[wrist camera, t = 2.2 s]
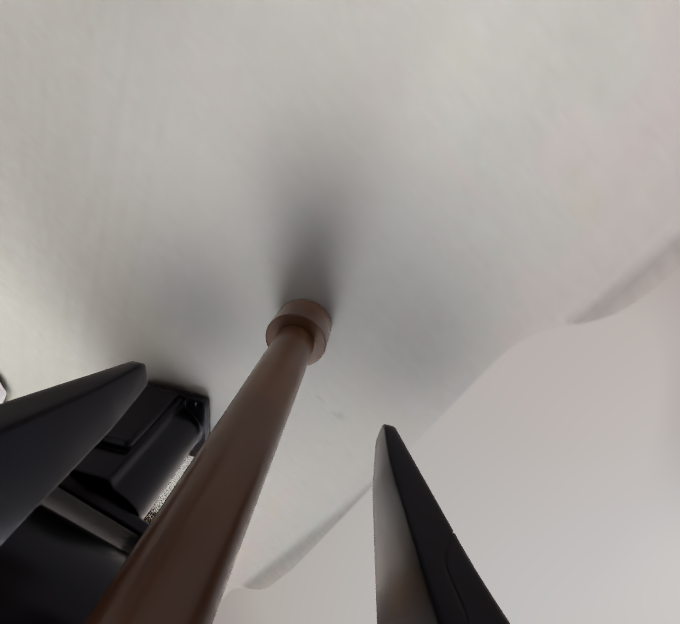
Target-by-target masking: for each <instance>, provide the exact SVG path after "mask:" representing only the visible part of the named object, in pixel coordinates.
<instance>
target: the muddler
mask: <svg viewBox="0 0 680 624" xmlns="http://www.w3.org/2000/svg"><path fill="white" fill-rule="evenodd" d="M330 331H331V321H330V318H329V316H328V314H327V312H326V311H325V310H324V309H323V308H322V307H321V306H320V305H318V304H317V303H315V302H313V301H310V300H305V299H297V300H293V301H290V302H288V303H287V304H285V305H284V306H283V307H282V308H281V310H280V311H279V312H278V314H277V315H276V316H275V317H274V319H273V320H272V321H271V323H270V324H269V326H268V327H267V330H266V342H267V345H268V348H267V350H266V351H265V353H264V354H263V356H262V357H261V359H260V360H259V362H258V363H257V365H256V366H255V368H254V369H253V371H252V372H251V374H250V375H249V377H248V378H247V380H246V381H245V383H244V384H243V386H242V387H241V389H240V390H239V392H238V393H237V394H236V396H235V397H234V399H233V400H232V402H231V403H230V405H229V406H228V408H227V409H226V411H225V412H224V414H223V415H222V417H221V418H220V420H219V421H218V423H217V424H216V426H215V427H214V429H213V430H212V432H211V433H210V435H209V436H208V438H207V439H206V441H205V442H204V444H203V445H202V447H201V448H200V450H199V451H198V453H197V454H196V456H195V457H194V459H193V460H192V462H191V463H190V465H189V466H188V468H187V469H186V471H185V472H184V474H183V475H182V477H181V478H180V480H179V481H178V483H177V484H176V486H175V487H174V489H173V490H172V492H171V493H170V495H169V496H168V498H167V499H166V501H165V502H164V504H163V505H162V507H161V508H160V509H159V511H158V512H157V514H156V515H155V517H154V518H153V520H152V521H151V523H150V524H149V526H148V527H147V529H146V530H145V532H144V533H143V535H142V536H141V538H140V539H139V541H138V542H137V544H136V545H135V547H134V548H133V550H132V551H131V553H130V554H129V556H128V557H127V559H126V560H125V562H124V563H123V565H122V566H121V568H120V569H119V571H118V572H117V574H116V575H115V577H114V578H113V580H112V581H111V583H110V584H109V586H108V587H107V589H106V590H105V592H104V593H103V595H102V596H101V598H100V599H99V601H98V602H97V604H96V605H95V607H94V608H93V610H92V611H91V613H90V614H89V616H88V617H87V619H86V620H85V622H84V623H83V624H212V622H213V620H214V617H215V614H216V612H217V609H218V606H219V604H220V601H221V598H222V595H223V593H224V590H225V587H226V584H227V582H228V579H229V576H230V574H231V571H232V568H233V565H234V563H235V560H236V557H237V555H238V552H239V549H240V546H241V544H242V541H243V538H244V536H245V533H246V530H247V527H248V525H249V522H250V519H251V517H252V514H253V511H254V508H255V506H256V503H257V500H258V498H259V495H260V492H261V489H262V487H263V484H264V481H265V479H266V476H267V473H268V470H269V468H270V465H271V462H272V460H273V457H274V454H275V451H276V449H277V446H278V443H279V441H280V438H281V435H282V432H283V430H284V427H285V424H286V422H287V419H288V416H289V413H290V411H291V408H292V405H293V403H294V400H295V397H296V394H297V392H298V389H299V386H300V384H301V381H302V378H303V375H304V373H305V370H306V367H307V366H308V365H311V364H313V363H315V362H316V361H318V360H319V359H320V358H321V357H322V355H323V354H324V352H325V348H326V345H327V342H328V338H329V335H330Z"/></svg>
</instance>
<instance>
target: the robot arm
mask: <svg viewBox="0 0 680 624" xmlns="http://www.w3.org/2000/svg"><path fill="white" fill-rule="evenodd" d="M147 382H148V378H147V371H146V366H145V365H144V364H143V363H139V362H134V361H132V362H128V363H125V364H122V365H119V366H116V367H113V368H110V369H106V370H103V371H100V372H97V373H94V374H91V375H88V376H85V377H82V378H79V379H75V380H72V381H69V382H66V383H63V384H60V385H57V386H54V387H51V388H48V389H44V390H41V391H38V392H35V393H32V394H29V395H26V396H23V397H20V398H17V399H13V400H10V401H7V402H4V403H1V404H0V624H83V623H84V622H85V620H86V619H87V617H88V616H89V614H90V613H91V611H92V610H93V608H94V607H95V605H96V604H97V602H98V601H99V599H100V598H101V596H102V595H103V593H104V592H105V590H106V589H107V587H108V586H109V584H110V583H111V581H112V580H113V578H114V577H115V575H116V574H117V572H118V571H119V569H120V568H121V566H122V565H123V563H124V562H125V560H126V559H127V557H128V556H129V554H130V553H131V551H132V550H133V548H134V547H135V545H136V544H137V542H138V541H139V539H140V538H141V536H142V535H143V533H144V532H145V530H146V529H147V527H148V526H149V524H150V523H148V522H147V521H145V520H144V518H145V517H146V515H147V514H148V512H149V511H150V510H151V508H152V507H153V505H154V504H155V502H156V501H157V499H158V498H159V497H160V495H161V494H162V492H163V491H164V489H165V488H166V487H167V485H168V484H169V482H170V481H171V479H172V478H173V477H174V475H175V474H176V472H177V471H178V469H179V468H180V467H181V465H182V464H183V462H184V461H185V459H186V458H187V457H188V455H190V456H194V457H195V456H196V454H197V453H198V451H199V450H200V448H201V447H202V445H203V444H204V442H205V441H206V439H207V438H208V436H209V401H208V400H207V399H206V398H205V397H202V396H198V395H194V394H190V393H187V392H183V391H179V390H175V389H171V388H167V387H163V386H159V385H155V384H151V383H147ZM373 516H374V543H375V544H374V545H375V574H376V604H377V624H510V623H509V621H508V620H507V618H506V617H505V615H504V614H503V612H502V610H501V609H500V607H499V606H498V604H497V603H496V601H495V600H494V598H493V597H492V595H491V594H490V592H489V590H488V589H487V587H486V586H485V584H484V583H483V581H482V579H481V578H480V576H479V575H478V573H477V571H476V570H475V568H474V566H473V565H472V563H471V561H470V559H469V558H468V556H467V554H466V553H465V551H464V549H463V547H462V546H461V544H460V542H459V540H458V539H457V537H456V535H455V534H454V533H453V530H452V528H451V526H450V524H449V523H448V521H447V519H446V517H445V516H444V514H443V512H442V510H441V508H440V507H439V505H438V503H437V501H436V500H435V498H434V496H433V494H432V493H431V491H430V489H429V487H428V485H427V484H426V482H425V480H424V478H423V476H422V475H421V473H420V471H419V469H418V468H417V466H416V464H415V462H414V460H413V459H412V457H411V455H410V453H409V451H408V450H407V448H406V446H405V444H404V443H403V441H402V439H401V437H400V435H399V434H398V432H397V430H396V428H395V427H393V426H390V425H386V424H384V425H383V426H382V428H381V430H380V433H379V435H378V437H377V440H376V447H375V462H374V476H373Z"/></svg>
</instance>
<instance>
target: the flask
mask: <svg viewBox="0 0 680 624" xmlns="http://www.w3.org/2000/svg"><path fill="white" fill-rule="evenodd" d="M6 394H7V393H6V391H5V390H4V388H3V386H2V385H1V383H0V404H1V403H4V400H5V397H6Z"/></svg>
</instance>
